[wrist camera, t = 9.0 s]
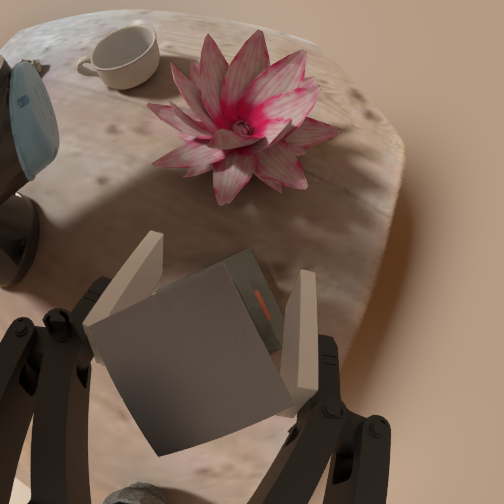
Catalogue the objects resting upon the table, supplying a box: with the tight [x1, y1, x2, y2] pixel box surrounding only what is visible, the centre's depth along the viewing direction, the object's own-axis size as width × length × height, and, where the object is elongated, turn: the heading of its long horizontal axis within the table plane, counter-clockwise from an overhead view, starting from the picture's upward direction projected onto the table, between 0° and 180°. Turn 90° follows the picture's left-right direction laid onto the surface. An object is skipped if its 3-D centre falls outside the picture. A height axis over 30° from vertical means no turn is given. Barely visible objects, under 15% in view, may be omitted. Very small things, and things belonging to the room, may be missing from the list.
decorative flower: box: [147, 30, 341, 205], centre depth 30 cm, size 21×21×15 cm
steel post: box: [88, 262, 295, 457], centre depth 17 cm, size 4×4×20 cm
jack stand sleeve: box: [156, 247, 285, 354], centre depth 27 cm, size 12×12×13 cm
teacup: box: [76, 25, 160, 90], centre depth 35 cm, size 14×11×8 cm
